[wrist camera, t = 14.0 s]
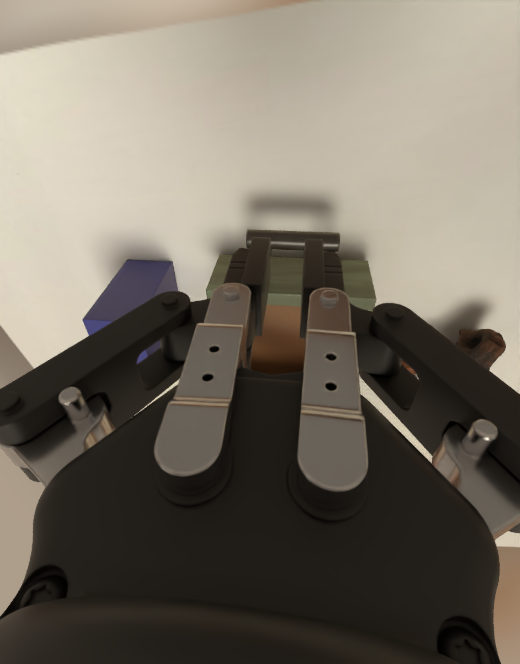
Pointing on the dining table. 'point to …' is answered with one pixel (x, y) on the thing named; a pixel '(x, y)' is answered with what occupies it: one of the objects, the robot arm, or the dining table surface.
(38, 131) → the dining table surface
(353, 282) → the drawer
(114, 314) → the snack box
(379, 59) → the dining table surface
